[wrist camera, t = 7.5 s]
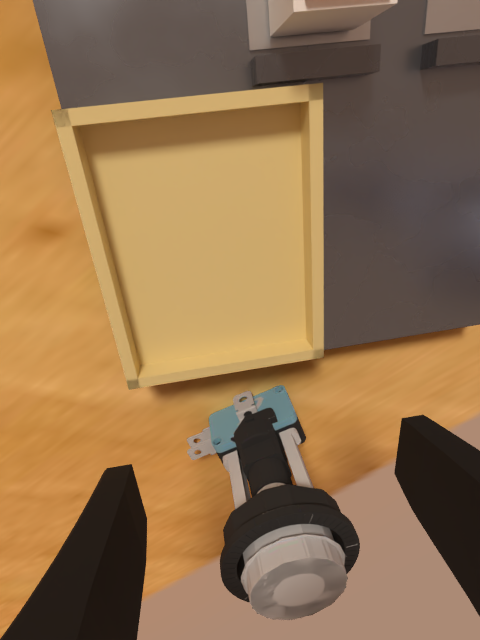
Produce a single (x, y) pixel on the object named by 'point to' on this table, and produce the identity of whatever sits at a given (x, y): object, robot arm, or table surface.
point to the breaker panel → (326, 133)
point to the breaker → (321, 15)
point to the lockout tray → (204, 227)
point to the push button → (276, 511)
